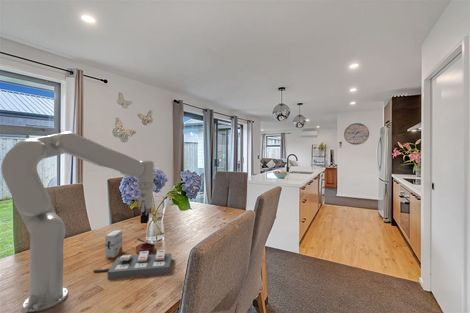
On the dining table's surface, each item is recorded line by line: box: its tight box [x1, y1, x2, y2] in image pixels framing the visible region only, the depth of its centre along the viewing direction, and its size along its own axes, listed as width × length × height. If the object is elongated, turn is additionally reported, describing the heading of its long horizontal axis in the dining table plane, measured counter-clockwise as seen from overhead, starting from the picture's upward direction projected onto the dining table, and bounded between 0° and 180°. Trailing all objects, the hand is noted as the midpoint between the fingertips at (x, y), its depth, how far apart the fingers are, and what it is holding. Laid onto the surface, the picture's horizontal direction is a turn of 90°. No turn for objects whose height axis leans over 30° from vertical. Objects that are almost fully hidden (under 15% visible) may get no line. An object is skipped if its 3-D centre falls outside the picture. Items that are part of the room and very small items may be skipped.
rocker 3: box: [155, 249, 166, 260], centre depth 108 cm, size 6×4×1 cm, turn 12°
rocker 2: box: [138, 251, 150, 262], centre depth 106 cm, size 6×4×1 cm, turn 12°
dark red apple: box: [135, 237, 156, 256], centre depth 123 cm, size 11×10×10 cm
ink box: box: [104, 229, 123, 259], centre depth 118 cm, size 8×5×12 cm, turn 0°
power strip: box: [93, 252, 172, 280], centre depth 104 cm, size 14×34×3 cm, turn 102°
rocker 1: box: [119, 254, 133, 261], centre depth 105 cm, size 6×4×1 cm, turn 13°
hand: (144, 221), depth 108 cm, fingers open, 2 cm apart
